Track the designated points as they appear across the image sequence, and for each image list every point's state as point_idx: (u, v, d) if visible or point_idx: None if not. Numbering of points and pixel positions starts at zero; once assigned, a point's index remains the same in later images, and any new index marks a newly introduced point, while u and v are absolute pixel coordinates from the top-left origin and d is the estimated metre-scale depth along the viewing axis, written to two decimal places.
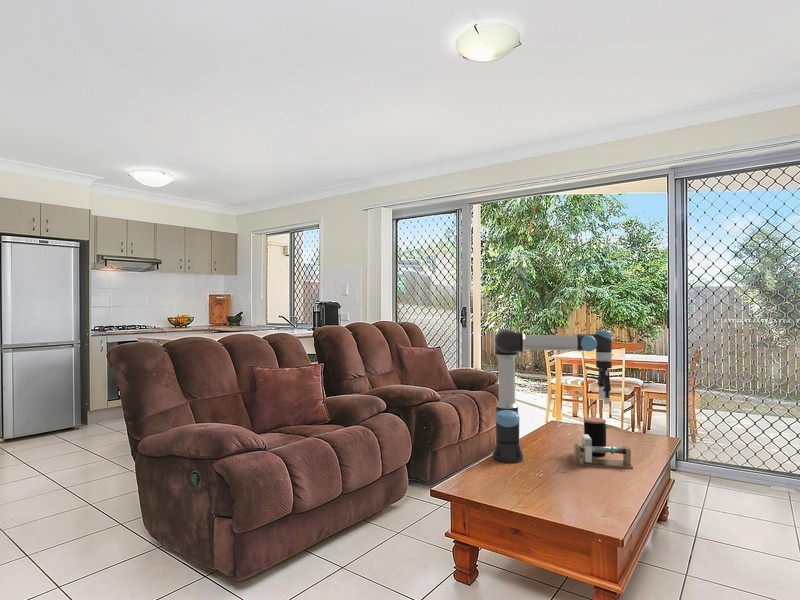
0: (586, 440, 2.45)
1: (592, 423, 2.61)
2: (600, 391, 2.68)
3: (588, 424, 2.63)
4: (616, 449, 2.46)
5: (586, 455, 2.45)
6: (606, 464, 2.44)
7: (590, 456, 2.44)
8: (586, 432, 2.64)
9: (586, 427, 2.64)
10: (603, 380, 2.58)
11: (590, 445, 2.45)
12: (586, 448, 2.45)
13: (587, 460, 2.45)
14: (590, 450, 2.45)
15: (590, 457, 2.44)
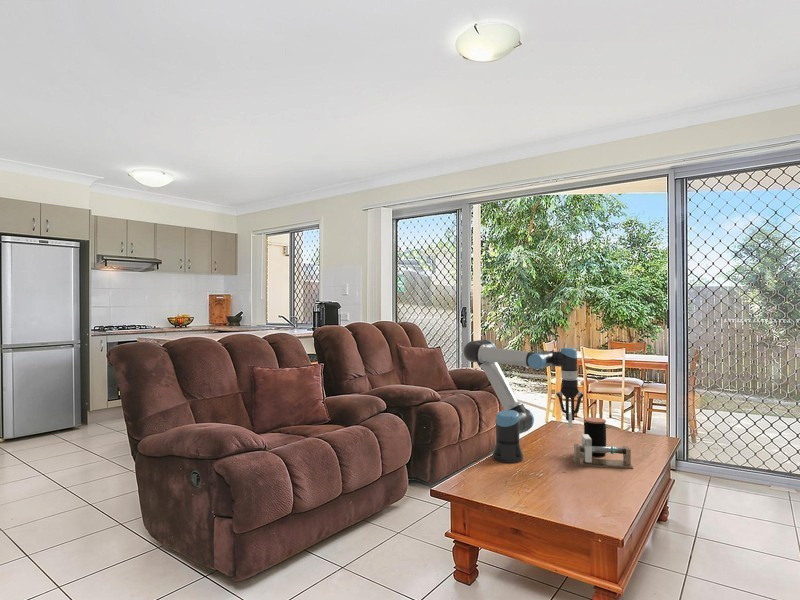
0: (586, 440, 2.45)
1: (592, 423, 2.61)
2: None
3: (588, 424, 2.63)
4: (616, 449, 2.46)
5: (586, 455, 2.45)
6: (606, 464, 2.44)
7: (590, 456, 2.44)
8: (586, 432, 2.64)
9: (586, 427, 2.64)
10: None
11: (590, 445, 2.45)
12: (586, 448, 2.45)
13: (587, 460, 2.45)
14: (590, 450, 2.45)
15: (590, 457, 2.44)
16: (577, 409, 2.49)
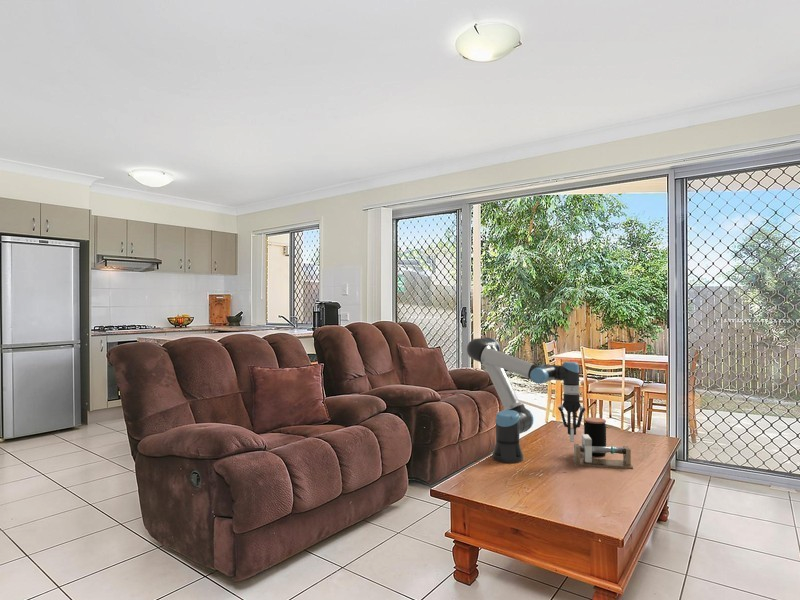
0: (586, 440, 2.45)
1: (592, 423, 2.61)
2: None
3: (588, 424, 2.63)
4: (616, 449, 2.46)
5: (586, 455, 2.45)
6: (606, 464, 2.44)
7: (590, 456, 2.44)
8: (586, 432, 2.64)
9: (586, 427, 2.64)
10: (567, 415, 2.53)
11: (590, 445, 2.45)
12: (586, 448, 2.45)
13: (587, 460, 2.45)
14: (590, 450, 2.45)
15: (590, 457, 2.44)
16: (579, 423, 2.49)
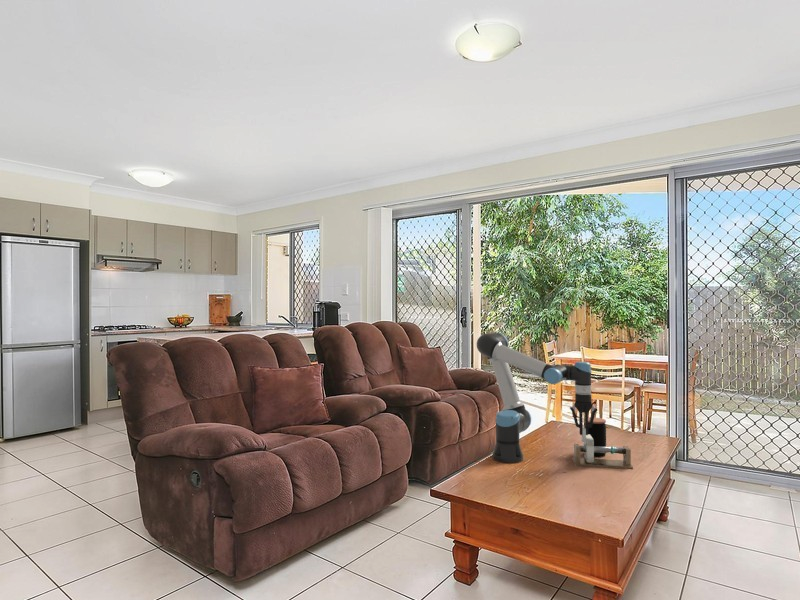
0: (588, 440, 2.45)
1: None
2: None
3: (588, 424, 2.63)
4: (616, 449, 2.46)
5: (588, 455, 2.45)
6: (606, 464, 2.44)
7: (592, 456, 2.44)
8: None
9: None
10: (579, 415, 2.51)
11: (592, 445, 2.44)
12: (588, 448, 2.45)
13: (589, 460, 2.45)
14: (592, 450, 2.44)
15: (592, 457, 2.44)
16: (591, 424, 2.48)
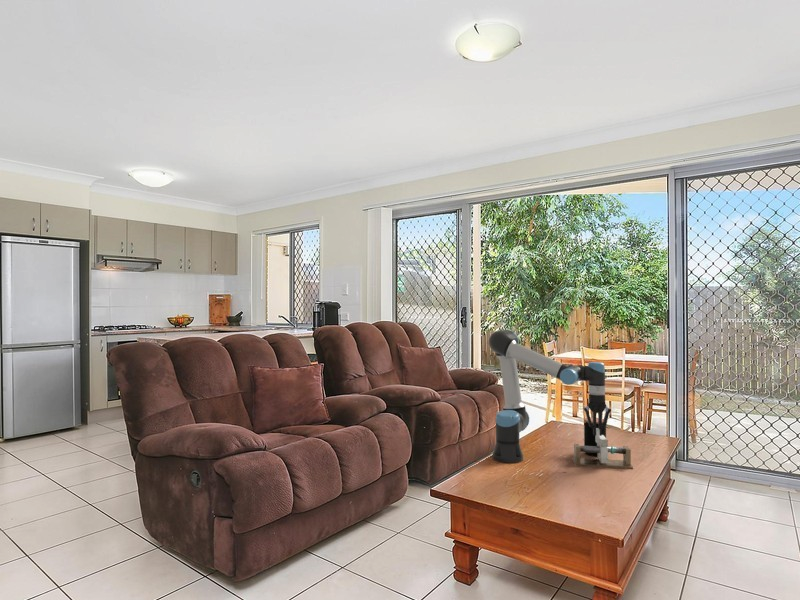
0: (602, 441, 2.44)
1: (592, 423, 2.61)
2: None
3: (588, 424, 2.63)
4: (616, 449, 2.46)
5: (602, 456, 2.44)
6: (606, 464, 2.44)
7: (606, 457, 2.43)
8: (586, 432, 2.64)
9: (586, 427, 2.64)
10: None
11: (606, 446, 2.43)
12: (602, 449, 2.44)
13: (603, 461, 2.43)
14: (606, 451, 2.43)
15: (606, 458, 2.43)
16: (605, 424, 2.47)
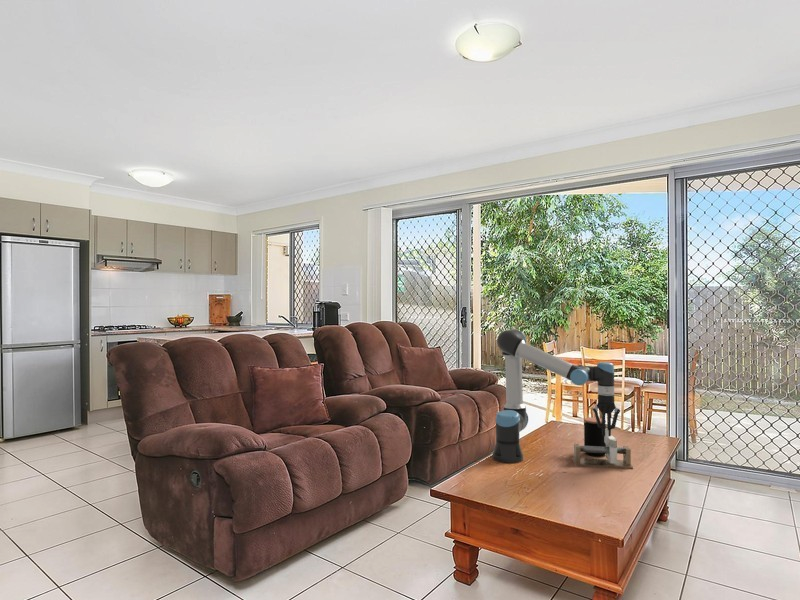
0: (611, 441, 2.43)
1: (592, 423, 2.61)
2: None
3: (588, 424, 2.63)
4: None
5: (611, 456, 2.43)
6: (606, 464, 2.44)
7: (615, 457, 2.42)
8: (586, 432, 2.64)
9: (586, 427, 2.64)
10: None
11: (615, 446, 2.42)
12: (611, 449, 2.43)
13: (612, 461, 2.43)
14: (615, 451, 2.42)
15: (615, 458, 2.42)
16: (614, 425, 2.46)
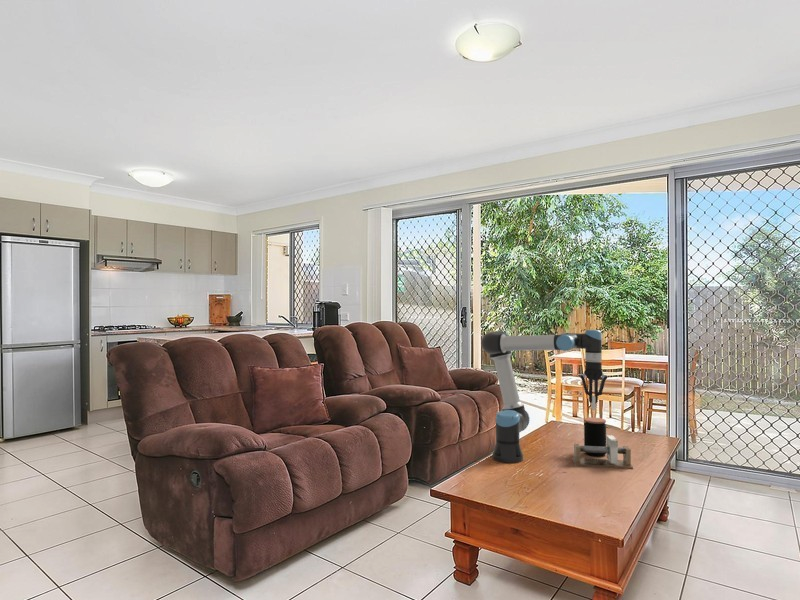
0: (612, 441, 2.43)
1: (592, 423, 2.61)
2: None
3: (588, 424, 2.63)
4: None
5: (612, 456, 2.43)
6: (606, 464, 2.44)
7: (616, 457, 2.42)
8: (586, 432, 2.64)
9: (586, 427, 2.64)
10: (589, 383, 2.51)
11: (616, 446, 2.42)
12: (612, 449, 2.43)
13: (613, 461, 2.43)
14: (616, 451, 2.42)
15: (616, 458, 2.42)
16: (601, 391, 2.48)
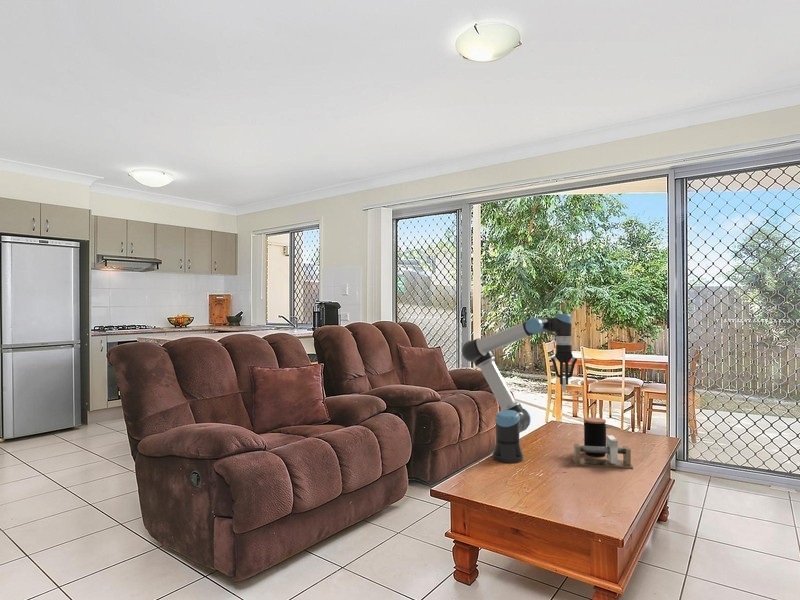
0: (612, 441, 2.43)
1: (592, 423, 2.61)
2: None
3: (588, 424, 2.63)
4: None
5: (612, 456, 2.43)
6: (606, 464, 2.44)
7: (616, 457, 2.42)
8: (586, 432, 2.64)
9: (586, 427, 2.64)
10: None
11: (616, 446, 2.42)
12: (612, 449, 2.43)
13: (613, 461, 2.43)
14: (616, 451, 2.42)
15: (616, 458, 2.42)
16: (571, 373, 2.54)
